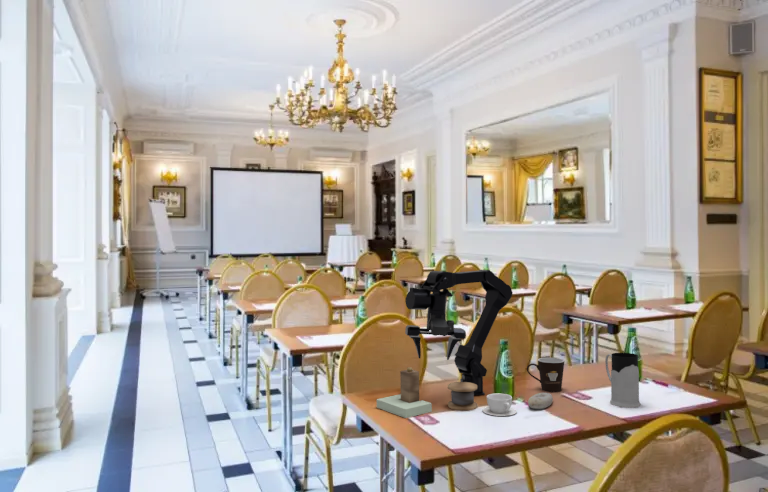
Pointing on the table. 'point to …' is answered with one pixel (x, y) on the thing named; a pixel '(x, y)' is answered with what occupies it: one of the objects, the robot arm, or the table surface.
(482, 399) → the table surface
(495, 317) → the robot arm
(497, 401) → the teacup
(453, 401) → the spool
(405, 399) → the tab block
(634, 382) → the glass holder
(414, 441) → the table surface
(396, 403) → the notched board
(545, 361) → the coffee mug
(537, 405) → the decorative stone
